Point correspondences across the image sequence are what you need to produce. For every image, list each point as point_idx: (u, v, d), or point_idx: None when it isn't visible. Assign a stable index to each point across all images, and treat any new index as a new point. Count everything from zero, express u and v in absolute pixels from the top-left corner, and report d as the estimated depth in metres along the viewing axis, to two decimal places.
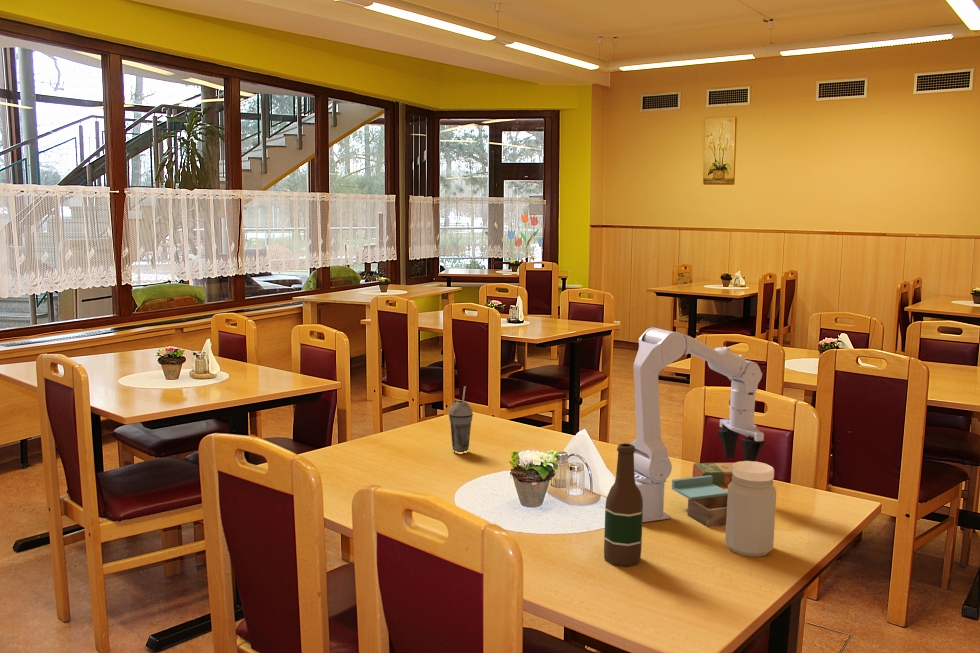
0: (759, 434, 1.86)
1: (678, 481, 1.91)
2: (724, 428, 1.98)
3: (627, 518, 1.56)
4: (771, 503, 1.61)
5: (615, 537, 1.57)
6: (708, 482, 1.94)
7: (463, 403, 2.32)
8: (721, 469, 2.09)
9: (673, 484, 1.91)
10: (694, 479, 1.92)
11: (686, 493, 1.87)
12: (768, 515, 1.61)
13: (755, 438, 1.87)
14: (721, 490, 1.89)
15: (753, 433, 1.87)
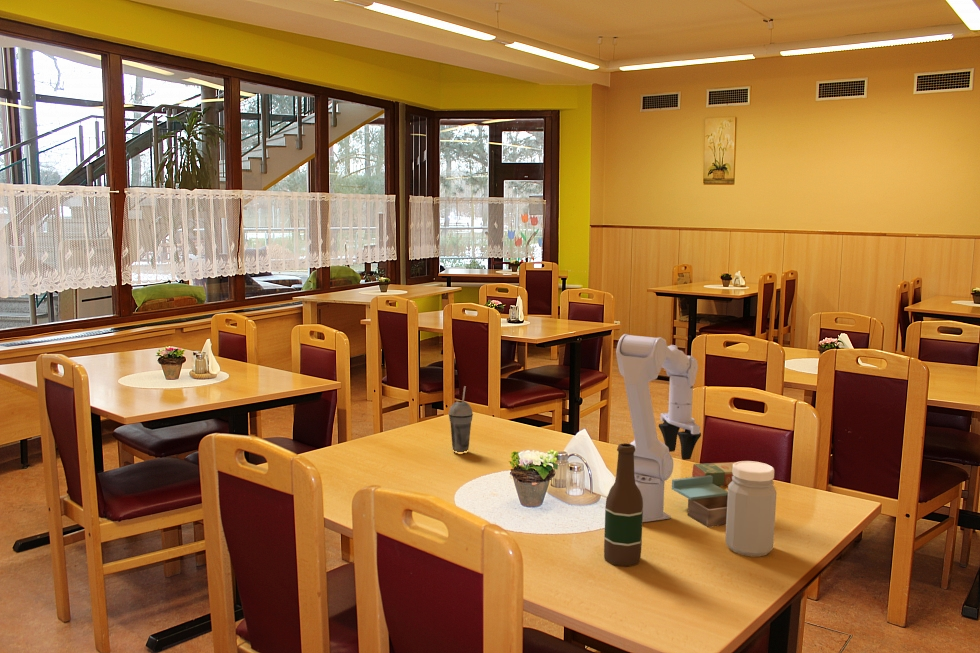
0: (695, 427, 1.90)
1: (678, 481, 1.91)
2: (664, 422, 2.02)
3: (627, 518, 1.56)
4: (771, 503, 1.61)
5: (615, 537, 1.57)
6: (708, 482, 1.94)
7: (463, 403, 2.32)
8: (722, 469, 2.09)
9: (673, 484, 1.91)
10: (694, 479, 1.92)
11: (686, 493, 1.87)
12: (768, 515, 1.61)
13: (691, 431, 1.91)
14: (721, 490, 1.89)
15: (690, 426, 1.91)
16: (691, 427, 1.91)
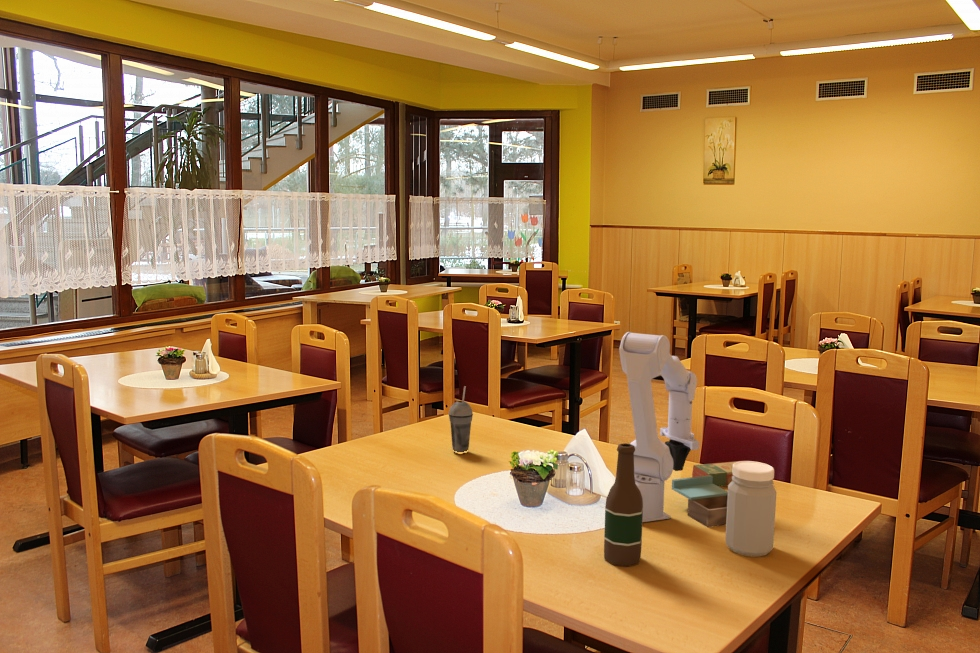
0: (694, 443, 1.91)
1: (678, 481, 1.91)
2: None
3: (627, 518, 1.56)
4: (771, 503, 1.61)
5: (615, 537, 1.57)
6: (708, 482, 1.94)
7: (463, 403, 2.32)
8: (723, 469, 2.09)
9: (673, 484, 1.91)
10: (694, 479, 1.92)
11: (686, 493, 1.87)
12: (768, 515, 1.61)
13: (691, 447, 1.91)
14: (721, 490, 1.89)
15: (689, 442, 1.92)
16: (690, 442, 1.91)
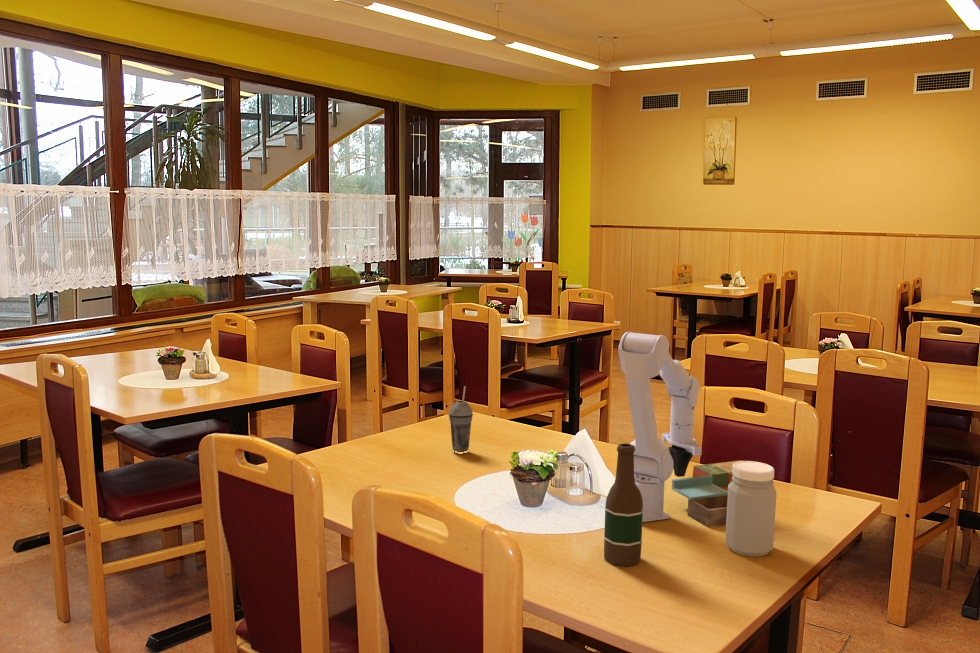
0: (697, 449, 1.90)
1: (678, 481, 1.91)
2: None
3: (627, 518, 1.56)
4: (771, 503, 1.61)
5: (615, 537, 1.57)
6: (708, 482, 1.94)
7: (463, 403, 2.32)
8: (724, 469, 2.09)
9: (673, 484, 1.91)
10: (694, 479, 1.92)
11: (686, 493, 1.87)
12: (768, 515, 1.61)
13: (693, 452, 1.90)
14: (721, 490, 1.89)
15: (691, 447, 1.91)
16: (693, 448, 1.90)
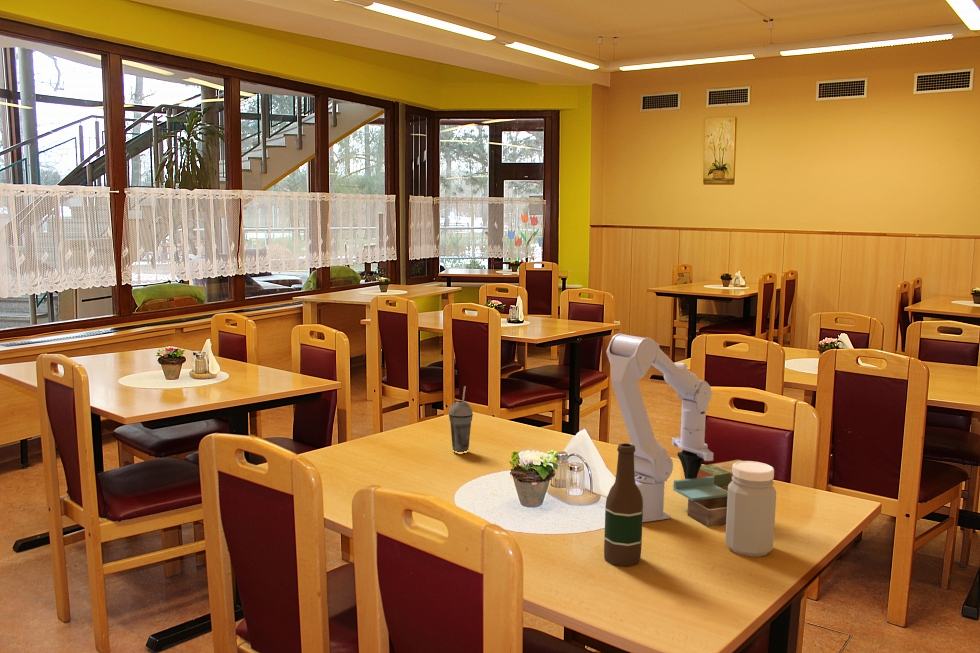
0: (708, 454, 1.86)
1: (680, 482, 1.90)
2: None
3: (627, 517, 1.56)
4: (771, 503, 1.61)
5: (615, 537, 1.57)
6: (710, 483, 1.93)
7: (463, 403, 2.32)
8: (725, 469, 2.09)
9: (675, 485, 1.90)
10: (696, 480, 1.92)
11: (688, 494, 1.86)
12: (768, 515, 1.61)
13: (705, 458, 1.86)
14: (723, 491, 1.88)
15: (703, 453, 1.86)
16: (704, 454, 1.86)
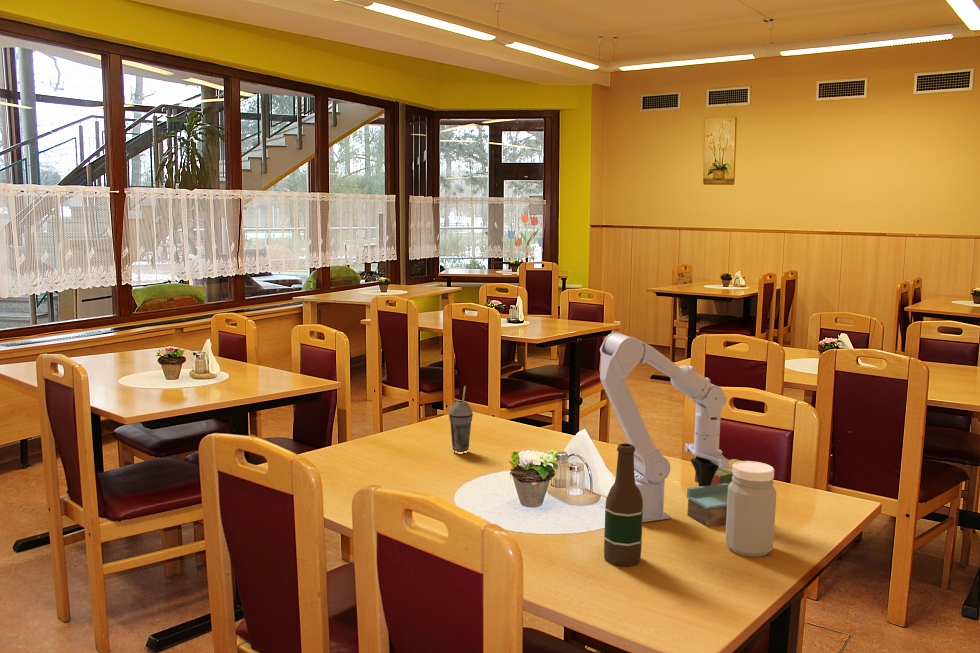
0: (723, 461, 1.80)
1: (693, 489, 1.85)
2: None
3: (627, 518, 1.56)
4: (771, 503, 1.61)
5: (615, 537, 1.57)
6: (724, 490, 1.88)
7: (463, 403, 2.32)
8: (727, 470, 2.09)
9: (688, 492, 1.85)
10: (710, 487, 1.86)
11: (702, 502, 1.81)
12: (768, 515, 1.61)
13: (719, 465, 1.81)
14: None
15: (717, 460, 1.81)
16: (719, 460, 1.81)
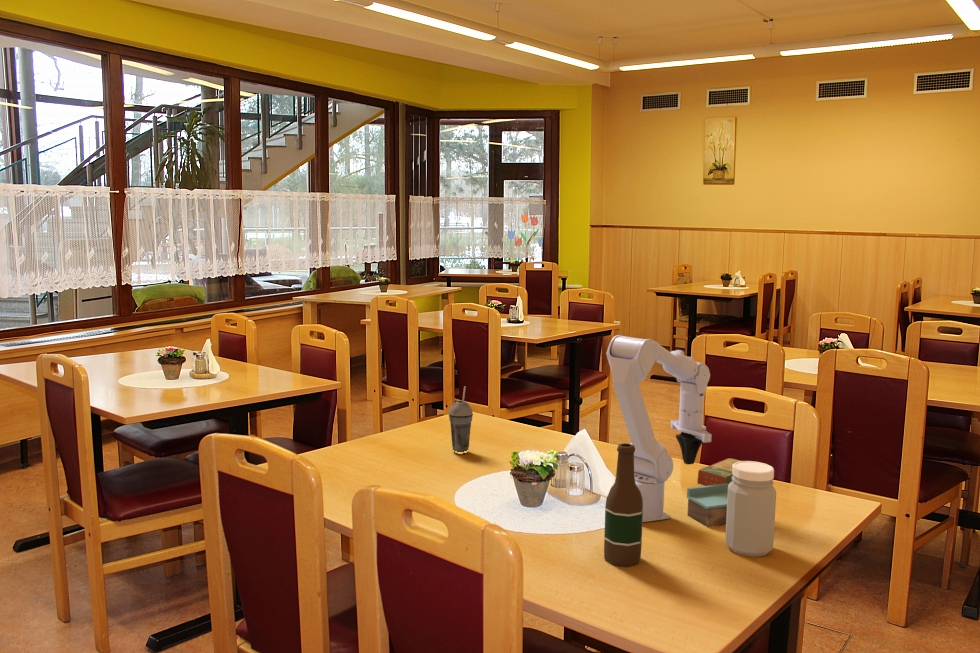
0: (707, 435, 1.87)
1: (693, 489, 1.85)
2: None
3: (627, 518, 1.56)
4: (771, 503, 1.61)
5: (615, 537, 1.57)
6: (724, 490, 1.88)
7: (463, 403, 2.32)
8: (729, 470, 2.08)
9: (688, 493, 1.85)
10: (710, 487, 1.86)
11: (702, 502, 1.81)
12: (768, 515, 1.61)
13: (703, 439, 1.87)
14: None
15: (701, 434, 1.88)
16: (702, 435, 1.87)
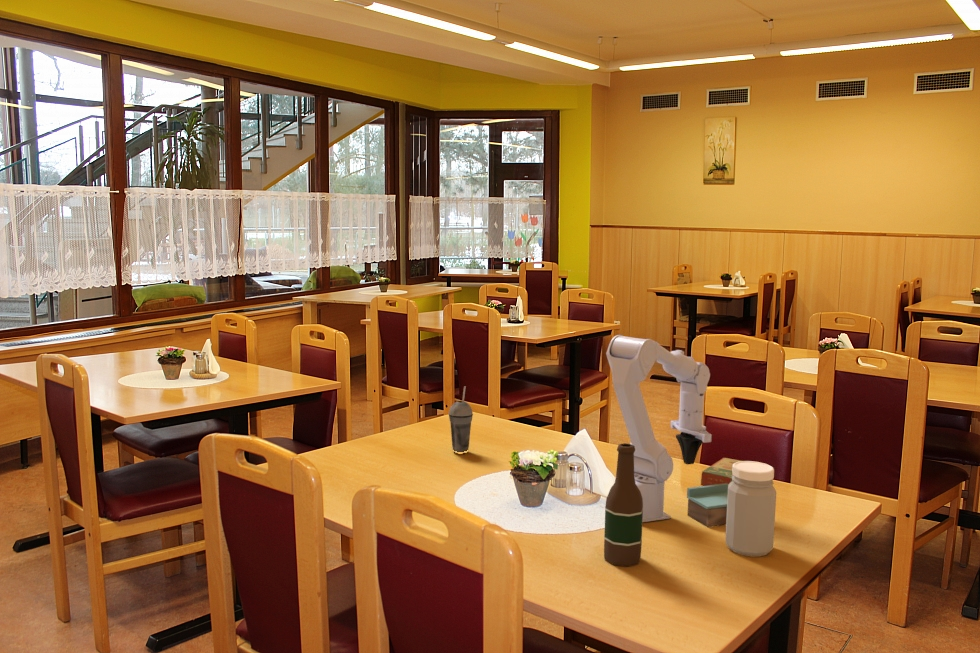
0: (707, 435, 1.87)
1: (693, 489, 1.85)
2: None
3: (627, 518, 1.56)
4: (771, 503, 1.61)
5: (615, 537, 1.57)
6: (724, 490, 1.88)
7: (463, 403, 2.32)
8: (730, 470, 2.08)
9: (688, 493, 1.85)
10: (710, 487, 1.86)
11: (702, 502, 1.81)
12: (768, 515, 1.61)
13: (703, 439, 1.87)
14: None
15: (701, 434, 1.88)
16: (702, 435, 1.87)
